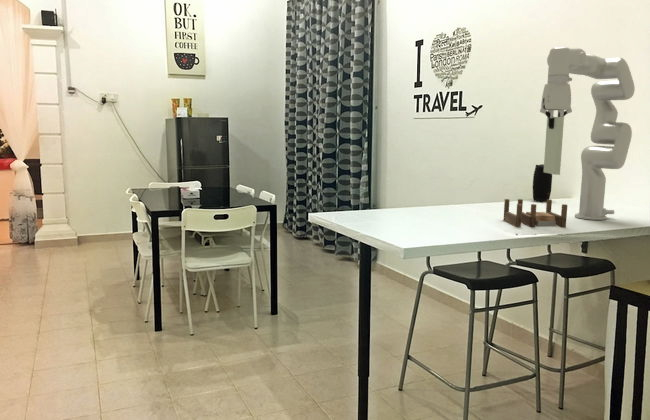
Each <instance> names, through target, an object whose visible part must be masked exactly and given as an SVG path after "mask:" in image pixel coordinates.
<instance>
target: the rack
mask: <svg viewBox="0 0 650 420" xmlns="http://www.w3.org/2000/svg"><path fill="white" fill-rule="evenodd" d="M523 201H524V200H523V199H521V198H518V199H517V204H516V214H515V213H513V212H510V198H509V199H508V198H504V205H503V206H504V207H503V221H505V222H507V223H508V224H510V225H512V226H514V227H516V228H521V227H522V224H524V225H526V226H528V227H530V228H536V225H535V220H536V212H537V204H535V203H531V204H530V212H531V214H530V215H529V214H526V212H523V205H524V204H523ZM552 203H553V200H552V199H550V198H549V199H547V201H546V206H545V213H548V214H551V215H554V216H555V221H556V226H558V227H560V228H567V217H568V216H567V215H568V213H567V212H568V204H561V213H560V214H558V213H555V212H552Z"/></svg>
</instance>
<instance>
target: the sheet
mask: <svg viewBox="0 0 650 420" xmlns="http://www.w3.org/2000/svg"><path fill="white" fill-rule="evenodd" d="M546 117H547V116H546ZM553 118H554V128H553V129H549V127H548V121H549V118H548V117H547V118H546V127H545V128H546V129H545V130H546V131H545V147H544V157H543V158H544V160H543V161H544V162H543V164H544V172H545V173H549V174H552V175H556V176H559V175H561V165H562V163H561V162H562V154H563V153H562V152H563V151H562V150H563V137H564V125H565V123H564V122H565V121H564V120H565V116H564V117H558V116H553Z"/></svg>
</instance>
